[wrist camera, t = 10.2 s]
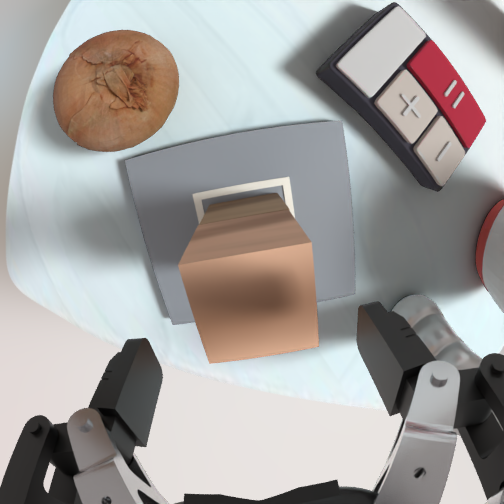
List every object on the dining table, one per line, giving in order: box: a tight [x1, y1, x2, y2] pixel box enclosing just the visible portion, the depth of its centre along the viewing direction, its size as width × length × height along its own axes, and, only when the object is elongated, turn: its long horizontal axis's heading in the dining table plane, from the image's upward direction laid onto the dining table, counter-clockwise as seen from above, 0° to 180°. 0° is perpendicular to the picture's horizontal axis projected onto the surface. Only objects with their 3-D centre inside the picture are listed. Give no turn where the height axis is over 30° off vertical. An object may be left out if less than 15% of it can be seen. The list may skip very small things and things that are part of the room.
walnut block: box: [199, 193, 290, 225], centre depth 21 cm, size 6×6×6 cm
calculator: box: [316, 2, 486, 191], centre depth 19 cm, size 11×4×15 cm
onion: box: [53, 30, 179, 152], centre depth 16 cm, size 10×9×10 cm
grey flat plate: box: [125, 121, 355, 325], centre depth 24 cm, size 16×18×1 cm
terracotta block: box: [178, 210, 319, 364], centre depth 15 cm, size 6×6×6 cm
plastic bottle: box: [392, 294, 503, 436], centre depth 20 cm, size 6×7×20 cm
